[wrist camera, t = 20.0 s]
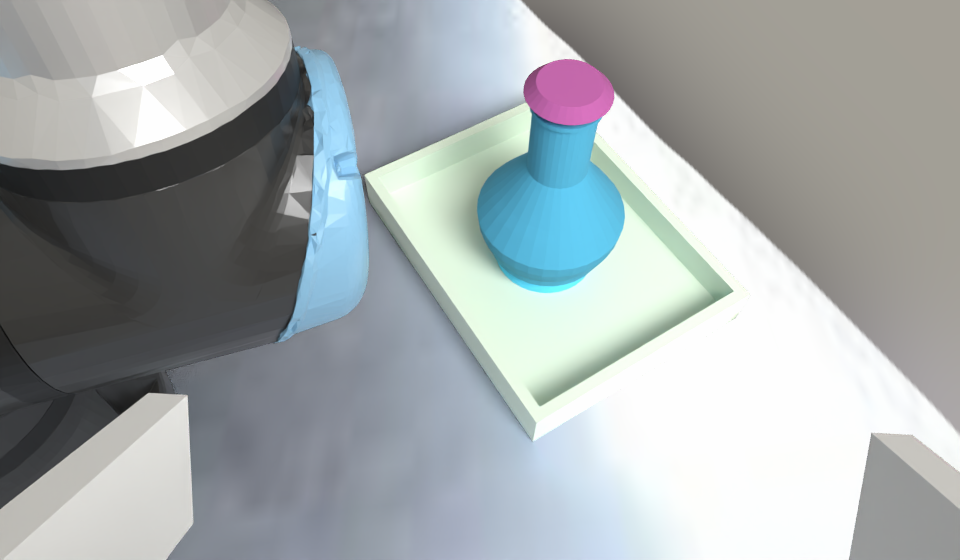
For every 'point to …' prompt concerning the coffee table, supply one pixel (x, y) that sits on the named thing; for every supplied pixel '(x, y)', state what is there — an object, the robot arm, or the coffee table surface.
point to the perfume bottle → (554, 185)
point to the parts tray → (561, 315)
